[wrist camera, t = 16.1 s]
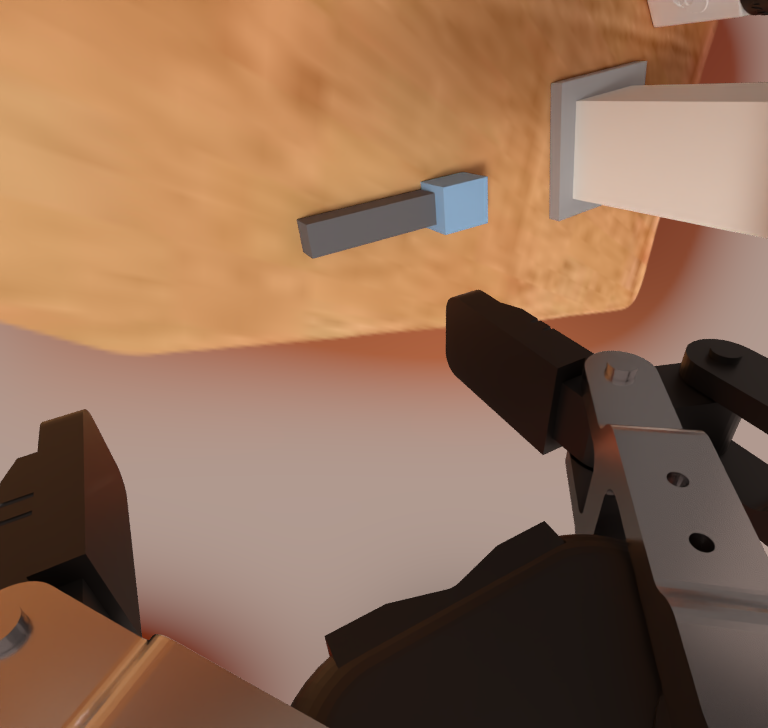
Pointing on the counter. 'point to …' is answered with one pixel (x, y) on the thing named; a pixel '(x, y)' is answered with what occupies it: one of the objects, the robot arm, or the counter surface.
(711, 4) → the jar
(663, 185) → the pedestal stand
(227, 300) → the counter surface
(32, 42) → the counter surface
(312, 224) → the blue block grey bar
